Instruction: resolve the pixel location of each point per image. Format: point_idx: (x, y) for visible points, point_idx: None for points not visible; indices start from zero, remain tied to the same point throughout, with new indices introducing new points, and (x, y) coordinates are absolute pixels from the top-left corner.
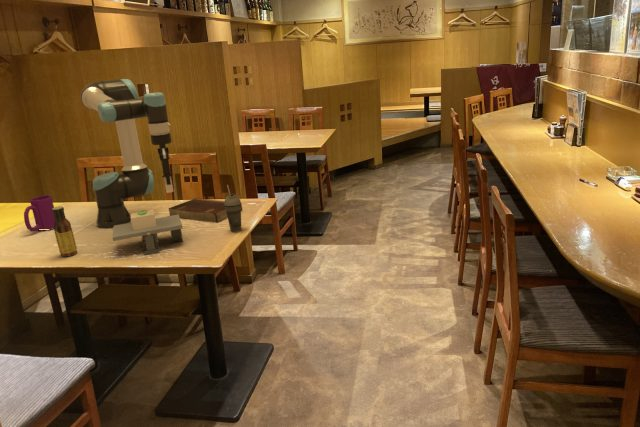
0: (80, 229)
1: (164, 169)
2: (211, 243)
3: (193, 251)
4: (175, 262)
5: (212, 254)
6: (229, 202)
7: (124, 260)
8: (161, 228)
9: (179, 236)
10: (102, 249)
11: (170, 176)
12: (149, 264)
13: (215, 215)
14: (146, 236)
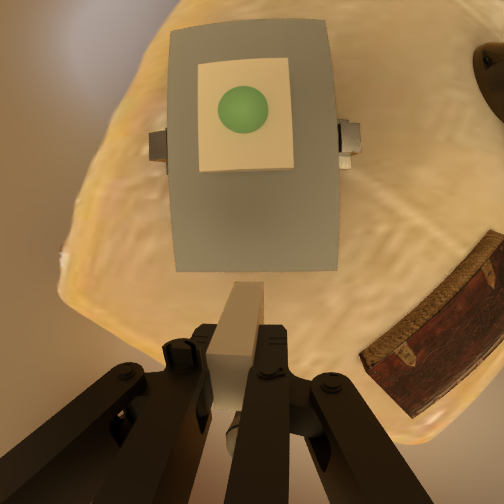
0: (476, 15)
1: (66, 420)
2: (181, 317)
3: (140, 266)
4: (89, 217)
5: (108, 303)
6: (229, 441)
7: (159, 82)
8: (170, 193)
9: None
10: (292, 17)
11: (214, 403)
12: (101, 153)
13: (366, 364)
14: (156, 137)
